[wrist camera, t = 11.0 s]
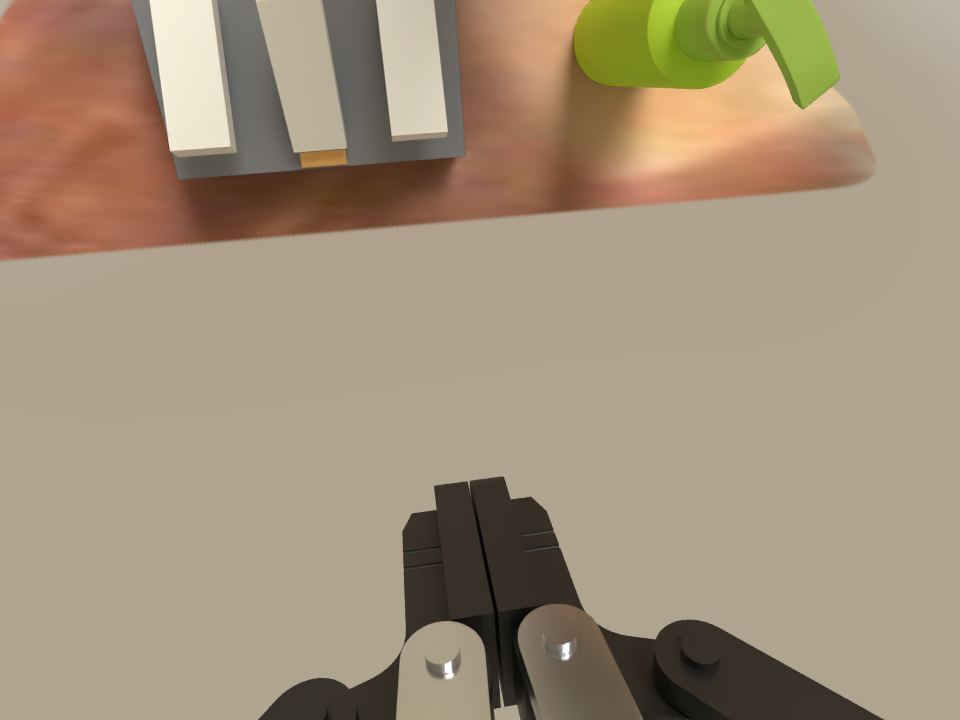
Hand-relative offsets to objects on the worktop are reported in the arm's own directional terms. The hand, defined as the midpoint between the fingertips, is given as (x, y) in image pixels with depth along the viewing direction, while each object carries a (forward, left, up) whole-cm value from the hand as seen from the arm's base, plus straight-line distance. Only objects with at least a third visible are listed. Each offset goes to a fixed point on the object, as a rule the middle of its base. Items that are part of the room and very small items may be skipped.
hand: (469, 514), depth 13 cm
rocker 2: (-2, -10, -29) cm, 31 cm away
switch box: (-2, -10, -35) cm, 37 cm away
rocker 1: (+3, -14, -29) cm, 33 cm away
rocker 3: (-6, -7, -29) cm, 31 cm away
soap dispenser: (-18, +2, -35) cm, 40 cm away
